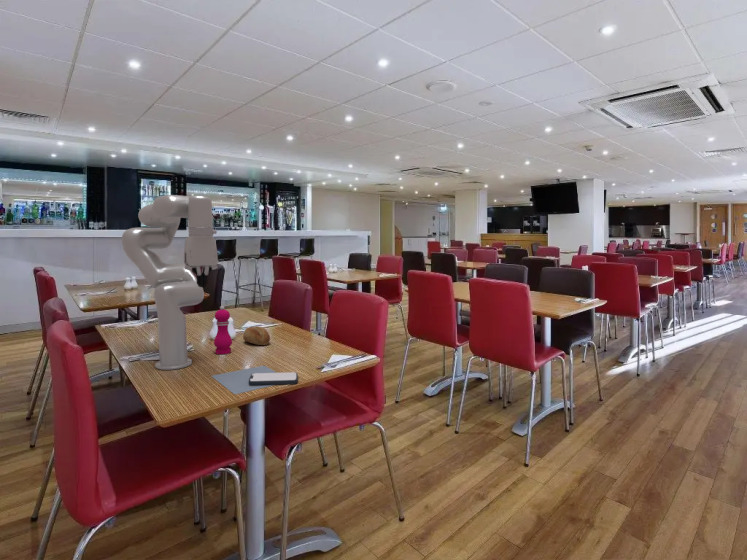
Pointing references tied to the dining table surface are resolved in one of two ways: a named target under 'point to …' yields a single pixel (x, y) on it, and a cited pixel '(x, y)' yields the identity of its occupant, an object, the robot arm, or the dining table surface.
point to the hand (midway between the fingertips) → (202, 286)
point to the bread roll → (256, 335)
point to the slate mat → (242, 379)
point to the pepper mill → (222, 332)
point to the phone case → (273, 378)
